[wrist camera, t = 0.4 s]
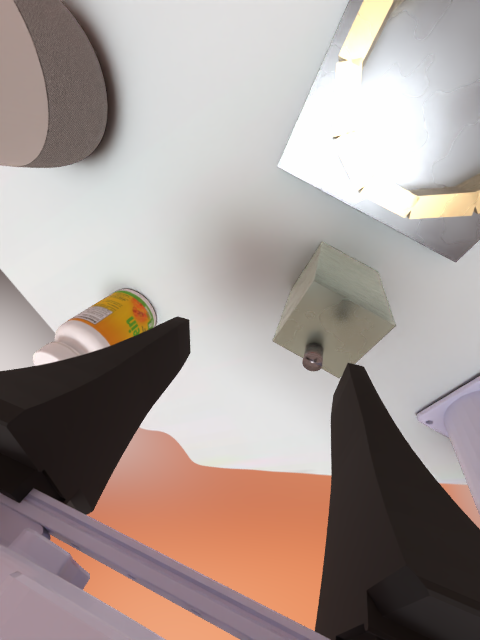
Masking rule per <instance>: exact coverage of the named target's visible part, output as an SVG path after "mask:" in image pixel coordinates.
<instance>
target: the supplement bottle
mask: <svg viewBox="0 0 480 640" xmlns="http://www.w3.org/2000/svg"><path fill="white" fill-rule="evenodd" d="M155 324H156V315H155V312H154V309H153V307H152V306H151V304H150V303H149V302H148V300H147V299H146V298H145V297H143V296H142V295H141V294H139V293H138V292H135V291H133V290H129V289H121V290H118V291H116V292H114V293H112V294H111V295H109V296H107V297H106V298H104V299H103V300H101V301H99V302H98V303H96V304H94V305H93V306H91V307H89V308H88V309H86V310H85V311H83V312H81V313H80V314H78V315H76V316H75V317H73V318H71V319H70V320H68V321H66V322H65V323H64V324H62V325H61V326H60V327H59V328H58V329H57V331H56V333H55V341H54V342H51V343H48V344H46V345H45V346H44V347H42V348H41V349H40V350H38V351H37V352H35V353H34V355H33V362H34V365H35V366H37V365H42V364H47V363H52V362H56V361H61V360H65V359H68V358H72V357H76V356H80V355H83V354H87V353H90V352H93V351H96V350H99V349H103V348H105V347H108V346H111V345H114V344H116V343H119V342H121V341H124V340H126V339H128V338H131V337H133V336H136V335H138V334H140V333H142V332H145V331H147V330H149V329H151V328H153V327H155Z"/></svg>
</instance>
